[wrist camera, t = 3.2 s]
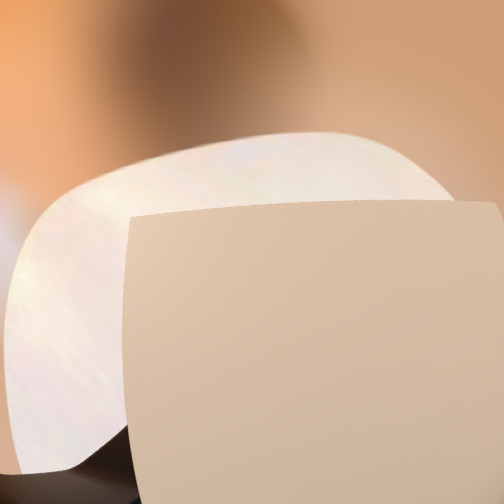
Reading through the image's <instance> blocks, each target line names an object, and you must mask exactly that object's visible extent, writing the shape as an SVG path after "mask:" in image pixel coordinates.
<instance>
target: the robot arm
mask: <svg viewBox="0 0 504 504" xmlns="http://www.w3.org/2000/svg"><path fill="white" fill-rule="evenodd" d="M0 504H142V502H141V498H140V494H139V490H138V485H137V481H136V476H135V470H134V465H133V459H132V453H131V447H130V440H129V433H128V425H126V426H125V427H124V428H123V429H122V430H121V431H120V432H119V433H118V434H117V435H116V436H114V437H113V438H112V439H111V440H110V441H108V442H107V443H106V444H105V445H104V446H102V447H101V448H100V449H99V450H97V451H96V452H95V453H93V454H92V455H91V456H90V457H88V458H87V459H86V460H85V461H83V462H82V463H80V464H79V465H77V466H75V467H73V468H70V469H67V470H63V471H56V472H47V473H36V474H20V475H4V474H0Z"/></svg>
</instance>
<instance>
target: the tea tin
mask: <svg viewBox="0 0 504 504" xmlns="http://www.w3.org/2000/svg"><path fill="white" fill-rule="evenodd" d="M122 342H123V377H124V393H125V405H126V416H127V425H128V433H129V440H130V447H131V453H132V459H133V465H134V470H135V476H136V481H137V485H138V490H139V494H140V498H141V502H142V504H504V221H503V219H502V216H501V214H500V212H499V209H498V207H497V204H496V203H495V202H477V201H449V200H354V201H323V202H300V203H282V204H266V205H251V206H238V207H225V208H214V209H203V210H192V211H182V212H173V213H164V214H155V215H146V216H138V217H131V220H130V228H129V236H128V245H127V255H126V266H125V279H124V295H123V331H122Z"/></svg>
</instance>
